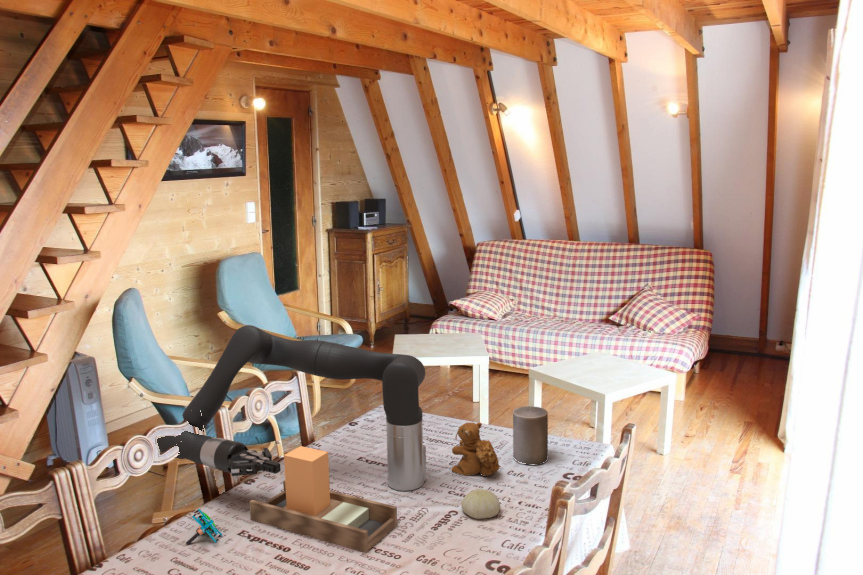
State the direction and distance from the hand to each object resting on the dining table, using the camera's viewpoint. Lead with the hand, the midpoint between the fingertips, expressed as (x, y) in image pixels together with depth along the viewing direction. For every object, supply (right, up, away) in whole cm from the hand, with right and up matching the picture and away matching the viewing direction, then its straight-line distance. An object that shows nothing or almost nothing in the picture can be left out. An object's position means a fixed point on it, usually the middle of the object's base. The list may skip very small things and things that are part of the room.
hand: (278, 468), depth 165 cm
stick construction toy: (-15, -13, -9) cm, 22 cm away
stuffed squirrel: (+49, -7, +22) cm, 54 cm away
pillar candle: (+64, -5, +30) cm, 71 cm away
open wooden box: (+11, -11, -4) cm, 16 cm away
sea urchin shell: (+48, -11, 0) cm, 49 cm away
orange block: (+8, -8, -3) cm, 11 cm away
